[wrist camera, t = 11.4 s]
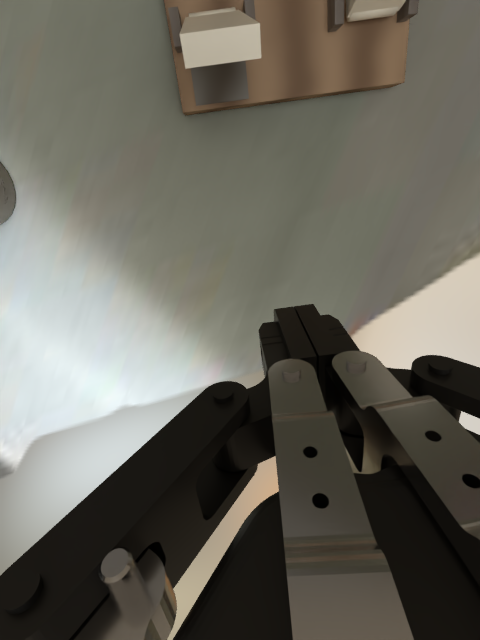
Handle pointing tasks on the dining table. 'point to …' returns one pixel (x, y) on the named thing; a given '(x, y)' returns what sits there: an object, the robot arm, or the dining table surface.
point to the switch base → (294, 54)
